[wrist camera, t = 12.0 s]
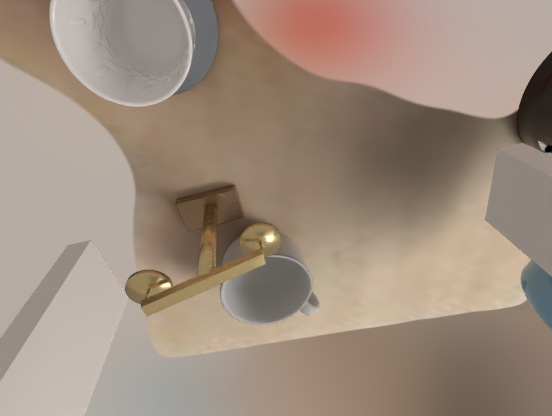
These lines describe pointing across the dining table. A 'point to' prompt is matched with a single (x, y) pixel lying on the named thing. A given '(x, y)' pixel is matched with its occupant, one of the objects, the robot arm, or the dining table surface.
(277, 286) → the teacup
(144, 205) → the dining table surface
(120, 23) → the white cup
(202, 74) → the dish
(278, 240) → the balance
